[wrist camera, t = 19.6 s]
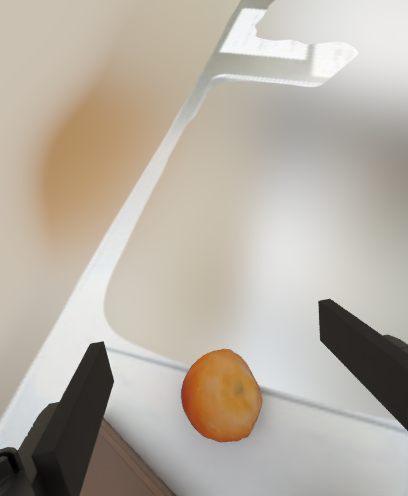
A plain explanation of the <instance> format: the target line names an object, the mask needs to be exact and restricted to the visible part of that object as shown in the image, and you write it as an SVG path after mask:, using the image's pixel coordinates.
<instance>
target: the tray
mask: <svg viewBox="0 0 408 496" xmlns="http://www.w3.org/2000/svg"><path fill="white" fill-rule="evenodd" d="M80 496H176V495H175V494H174V493H173V492H172V491H171V490H170V489H169V488H168V487H167V486H166V485H165V484H164V483H163V482H162V480H161V479H160V478H159V477H158V476H157V475H156V474H155V473H154V472H153V471H152V470H151V469H150V468H149V466H148V465H147V464H146V463H145V462H144V461H143V460H142V459H141V458H140V457H139V456H138V455H137V454H136V453H135V451H134V450H133V449H132V448H131V447H130V446H129V445H128V444H127V443H126V442H125V441H124V440H123V439H122V437H121V436H120V435H119V434H118V433H117V432H116V431H115V430H114V429H113V428H112V427H111V426H110V425H109V424H108V422H107V421H106V420H105V419H104V418H103V420H102V423H101V426H100V430H99V433H98V436H97V439H96V443H95V446H94V449H93V453H92V456H91V459H90V463H89V466H88V469H87V472H86V476H85V479H84V482H83V486H82V489H81V492H80Z"/></svg>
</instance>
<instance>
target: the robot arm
mask: <svg viewBox="0 0 408 496" xmlns="http://www.w3.org/2000/svg"><path fill="white" fill-rule="evenodd" d="M318 303H319V325H320V341H321V342H322V343H323V344H324V345H325V346H326V347H327V348H328V349H329V350H330V351H331V352H332V353H333V354H334V355H335V356H336V357H337V358H338V359H339V360H340V361H341V362H342V363H343V364H344V365H345V366H346V367H347V368H348V369H349V371H350V372H351V373H352V374H353V375H354V376H355V377H356V378H357V379H358V380H359V381H360V382H361V383H362V384H363V385H364V386H365V387H366V388H367V389H368V390H369V391H370V392H371V393H372V394H373V395H374V396H375V397H376V399H378V401H379V402H380V403H381V404H382V405H383V406H384V407H385V408H386V409H387V410H388V411H389V412H390V413H391V414H392V415H393V416H394V417H395V418H396V419H397V420H398V421H399V422H400V423H401V424H402V425H403V426H404V427H405V429H406V430H407V431H408V344H406V343H405V342H403V341H401V340H400V339H398V338H395V337H393V336H390V335H383V336H382V335H381V334H379V333H378V332H377V331H375V330H373V329H372V328H371V327H369V326H368V325H367V324H365V323H364V322H362V321H361V320H359V319H358V318H357V317H355V316H354V315H352V314H351V313H350V312H348V311H347V310H345V309H344V308H343V307H341V306H340V305H338V304H337V303H335V302H334V301H333V300H331V299H326V300H321V301H319V302H318ZM113 383H114V379H113V375H112V372H111V368H110V364H109V360H108V356H107V352H106V349H105V345H104V341H103V342H97V343H92V344H90V345H89V347H88V349H87V351H86V353H85V355H84V357H83V358H82V360H81V362H80V364H79V366H78V368H77V370H76V372H75V374H74V375H73V377H72V379H71V381H70V383H69V385H68V387H67V389H66V391H65V392H64V394H63V396H62V398H61V400H60V402H57V403H52V404H49V405H48V406H47V407H46V408H45V409H44V410H43V411H42V412H41V413H40V414H39V416H38V417H37V419H36V421H35V422H34V424H33V427H31V429H30V431H29V433H28V436H26V438H25V439H24V441H23V443H22V444H21V446H20V448H19V450H18V451H17V450H16V449H15V448H12V447H7V448H4V449H0V496H80V492H81V489H82V486H83V482H84V479H85V476H86V472H87V469H88V466H89V463H90V459H91V456H92V453H93V449H94V446H95V443H96V439H97V436H98V433H99V430H100V426H101V423H102V420H103V416H104V413H105V410H106V406H107V403H108V400H109V397H110V393H111V390H112V387H113Z"/></svg>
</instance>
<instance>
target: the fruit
mask: <svg viewBox="0 0 408 496" xmlns="http://www.w3.org/2000/svg"><path fill="white" fill-rule="evenodd" d="M181 399H182V406H183V409H184V411H185V413H186V415H187V417H188V419H189V421H190V422H191V424H192V425H193V426H194V428H195V429H196V430H197V431H198V432H199V433H200V434H201V435H203V436H204V437H206V438H209V439H213V440H215V441H218V442H232V441H239V440H241V439H242V438H245V437H247V436H248V435H249V434H250V432H251V430H252V429H253V426H254V424H255V422H256V420H257V418H258V414H259V412H260V408H261V404H262V397H261V394H260V389H259V385H258V384H257V382H256V380H255V378H254V376H253V375H252V372H251V371H250V369H249V367H248V365H247V364H246V362H245V361H244V360H243V359H242V357H240V356H239V355H238V354H236V353H234V352H233V351H231V350H229V349H222V350H217V351H213V352H210V353H207V354H205V355H204V356H202V357H201V358H200V359H198V360H197V361H196V362H195V363H194V364H193V365H192V367H191V368H190V370H189V371H188V373H187V374H186V377H185V379H184V381H183V385H182V390H181Z"/></svg>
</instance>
